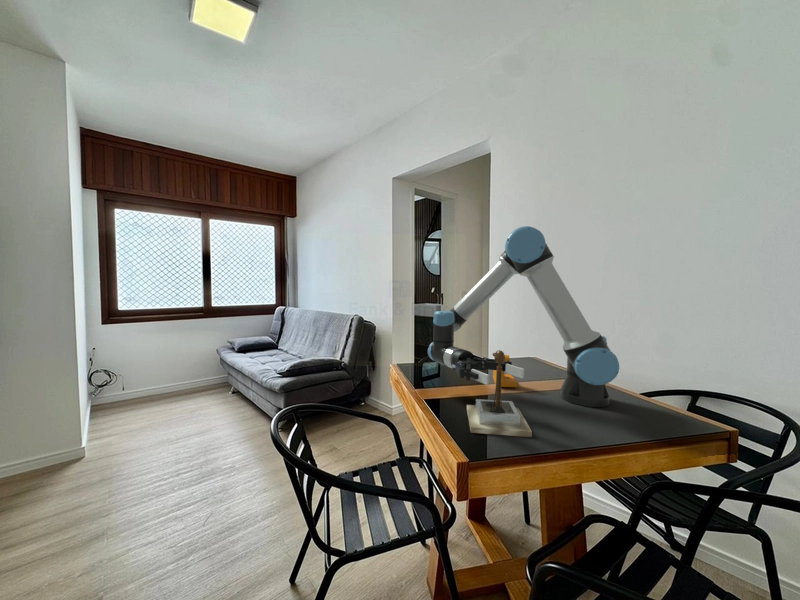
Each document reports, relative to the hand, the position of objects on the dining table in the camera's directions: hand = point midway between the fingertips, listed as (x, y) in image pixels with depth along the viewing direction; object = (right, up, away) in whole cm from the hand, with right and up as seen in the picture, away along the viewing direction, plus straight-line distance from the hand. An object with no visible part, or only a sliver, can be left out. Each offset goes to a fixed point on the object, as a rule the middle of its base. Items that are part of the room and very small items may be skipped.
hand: (506, 376), depth 91 cm
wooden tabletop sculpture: (-2, -13, +4) cm, 14 cm away
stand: (-2, -14, +4) cm, 15 cm away
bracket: (+12, -12, +38) cm, 42 cm away
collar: (-2, -13, +4) cm, 13 cm away
